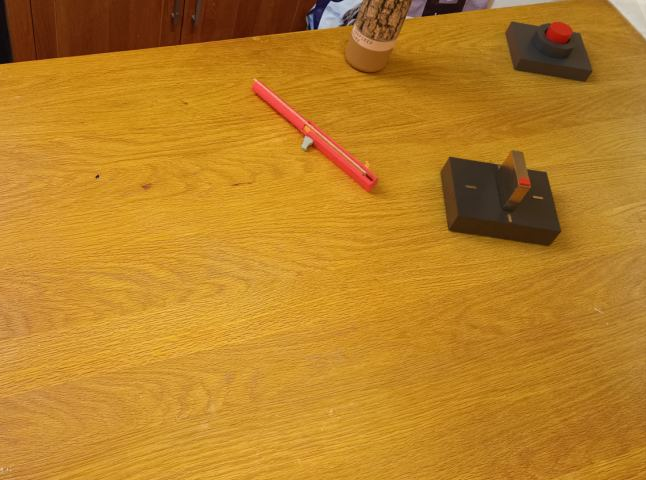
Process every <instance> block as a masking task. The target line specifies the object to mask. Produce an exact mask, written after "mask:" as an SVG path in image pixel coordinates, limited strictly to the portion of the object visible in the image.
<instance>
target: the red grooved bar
mask: <svg viewBox="0 0 646 480" xmlns="http://www.w3.org/2000/svg"><path fill="white" fill-rule="evenodd" d="M253 81H254V82H253V84H252V86H251V90H252V91H253V92H254V93H255V94H256V95H258V96H259V97H260V98H261V99H263V101H265V102H266V103H267V104H268V105H269V106H271V107H272V108H273V109H274V110H275V111H276V112H278V113H279V114H280V115H281V116H282V117H283V118H285V119H286V120H287V121H288V122H290V123H291V124H292V125H293V126H294V127H295V128H296V129H297V130H299V132H300V133H302V135H304V138H303V141H302V144H301V146H300V149H301V150H303V151H304V152H306V151H307V149H308V148H309V146H311V145H312V146H313V147H314V148H316V149H317V150H318V151H319V152H320V153H322V155H323V156H325V157H326V158H327V159H329V161H331V162H332V163H333V164H335V166H337V167H338V168H339V169H340V170H342V171H343V172H344V173H345V174H346V175H347V176H348V177H349V178H351V179H352V180H353V181H355V182H356V183H357V184H358V185H359V186H360V187H361V188H363V189H364V190H365V191H366V192H367V193H369V192H370V191H372V189H373V188H374V187H375V186H376V185H377V183H378V179H379V177H378V176H377V175H376V174H375V173H373V172H372V171H371V170H370V169H369V167H370V163H369V161H368V160H366V159H365V160H364V163H365V164H363V163H362V162H360V161H359V160H358V159H357V158H355V157H354V156H353V155H352V154H351V153H349V152H348V151H347V150H346V149H344V147H342V146H341V145H340V144H339V143H338V142H336V141H335V140H334V139H333V138H332V137H331V136H329V135H328V134H327V133H326V132H324V131H323V130H322V129H321V128H320V127H319V126H318V125H316V124H315V123H314V122H312V120H310V119H306V118H305V116H303V115H302V114H300V113H299V112H298V111H297V110H295V108H293V107H292V106H290V105H289V103H287V102H286V100H284V99H283V98H281V97H280V96H279V95H278V94H276V92H274V91H273V90H272V89H271V88H270V87H268V86H267V85H266V84H265V83H263V81H261V80H259V79H256V78H253Z"/></svg>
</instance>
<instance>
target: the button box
mask: <svg viewBox="0 0 646 480" xmlns="http://www.w3.org/2000/svg"><path fill="white" fill-rule="evenodd" d="M551 24H552V23H550V22H548V23H542V24H540V25H537V24H536V25H535V24H531V23H530V24H529V23H525V22H517V21H513V20H512V21H511V22H510V23H509V25H508V26H507V28H506V30H505V38H506V43H507V46H508V51H509V55H510V58H511V61H512V62H511V63H512V66H513V70H514V71H517V72H523V73H528V74H529V73H530V74H535V75H542V76H546V77H554V78H560V79H565V80H571V81H577V82H582V83H586V81H587V80H588V78H589V77H590V76H591V74H592V73H593V72H594V70H593V67H592V64H591V61H590V58H589V56H588V52H587V49H586V46H585V44H584V40H583V37H582V34H581V33H580V32H576V31H573V33H572V35H571V37H570V38H569V40H568V41H567V43H566V44H558V43H555V42H553V41H551V40H549V39H548V38H547V37H546V32H547V30H548V29H549V27H550V25H551Z"/></svg>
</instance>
